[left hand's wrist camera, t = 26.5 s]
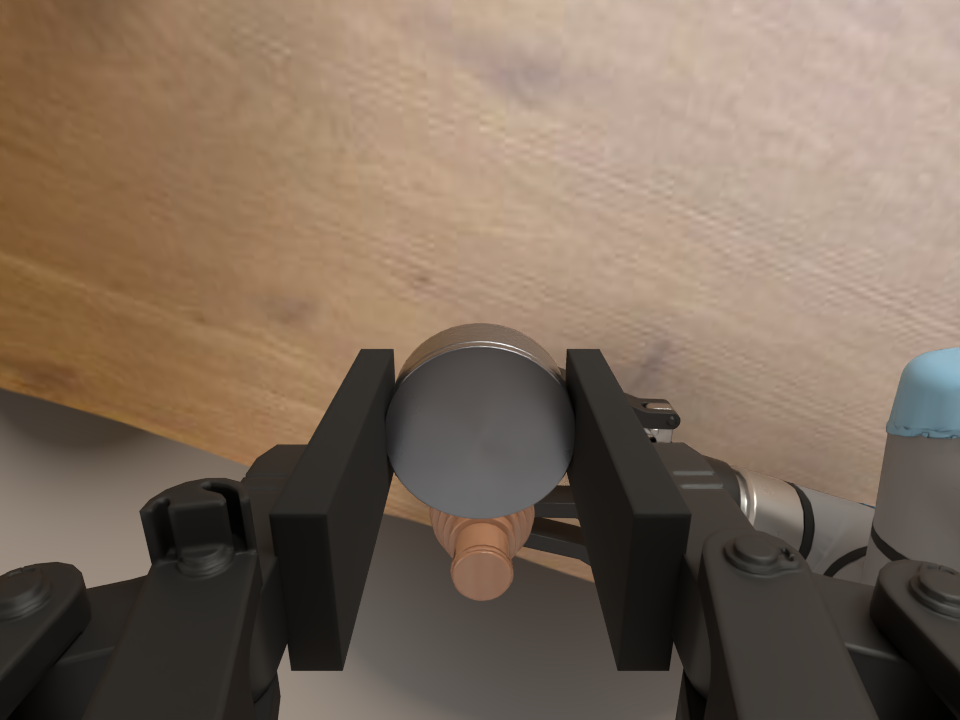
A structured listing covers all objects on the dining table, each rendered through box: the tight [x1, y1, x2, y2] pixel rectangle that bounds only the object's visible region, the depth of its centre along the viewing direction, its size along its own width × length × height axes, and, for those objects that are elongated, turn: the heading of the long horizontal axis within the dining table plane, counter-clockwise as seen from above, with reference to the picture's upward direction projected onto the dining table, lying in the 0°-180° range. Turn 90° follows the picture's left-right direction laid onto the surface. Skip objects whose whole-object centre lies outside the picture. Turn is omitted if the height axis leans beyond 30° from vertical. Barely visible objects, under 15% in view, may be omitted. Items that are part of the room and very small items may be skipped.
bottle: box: [430, 505, 535, 601], centre depth 39 cm, size 6×6×21 cm
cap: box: [385, 323, 576, 519], centre depth 14 cm, size 4×4×2 cm
